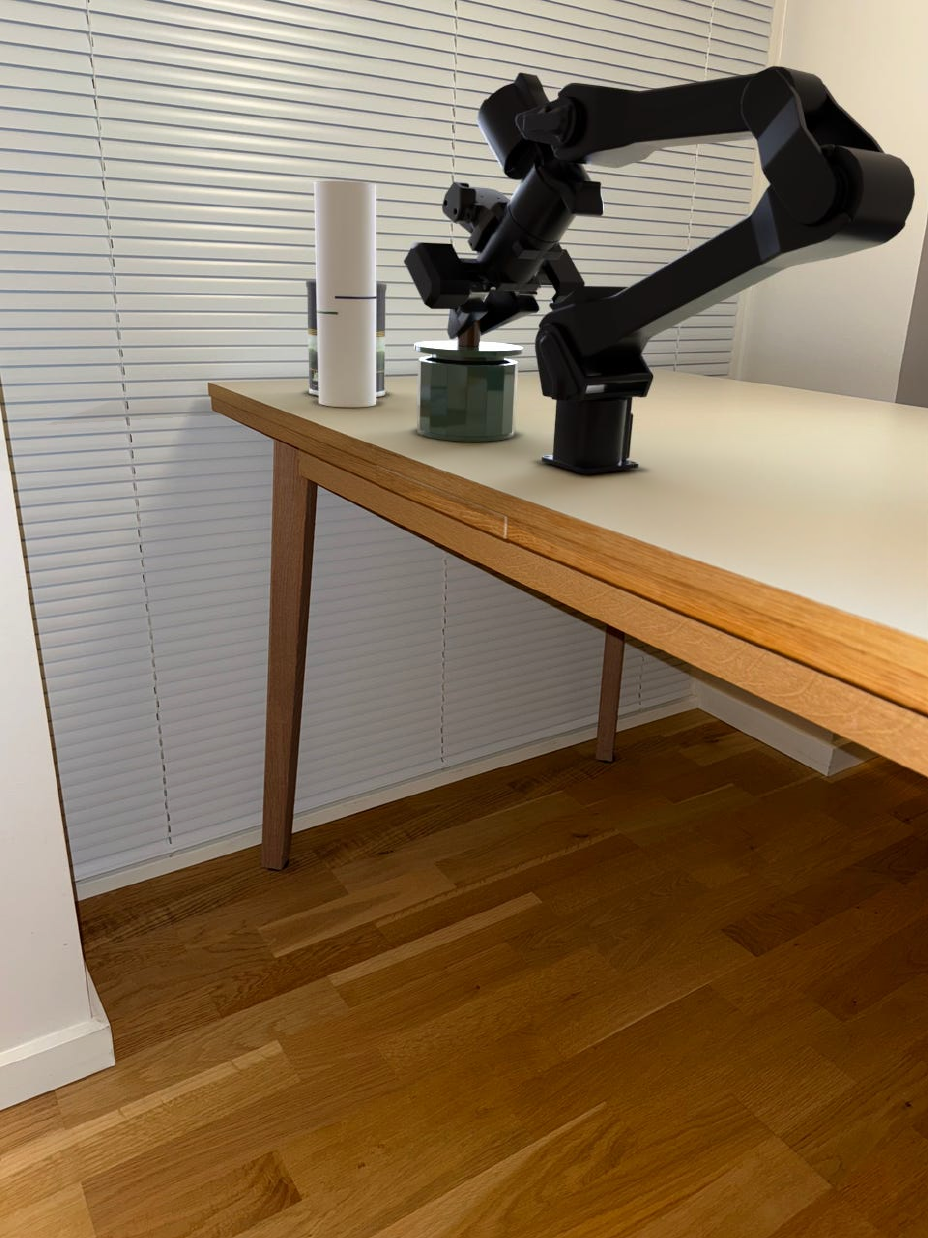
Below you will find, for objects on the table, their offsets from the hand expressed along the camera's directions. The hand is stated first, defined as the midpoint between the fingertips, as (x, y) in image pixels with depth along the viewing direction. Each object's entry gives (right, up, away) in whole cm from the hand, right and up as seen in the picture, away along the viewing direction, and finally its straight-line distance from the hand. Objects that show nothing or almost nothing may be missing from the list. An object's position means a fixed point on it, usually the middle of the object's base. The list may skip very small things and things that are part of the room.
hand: (461, 335), depth 96 cm
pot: (0, -10, +3) cm, 10 cm away
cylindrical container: (-14, -3, +20) cm, 25 cm away
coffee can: (-15, +1, +28) cm, 32 cm away
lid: (+1, -2, -1) cm, 2 cm away
